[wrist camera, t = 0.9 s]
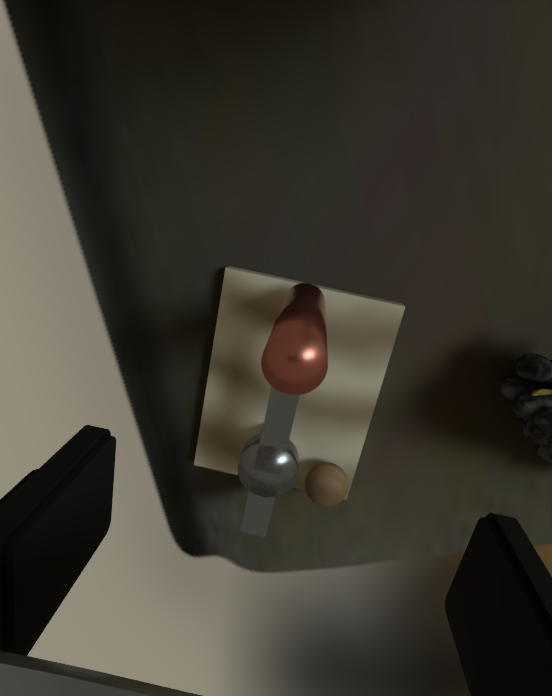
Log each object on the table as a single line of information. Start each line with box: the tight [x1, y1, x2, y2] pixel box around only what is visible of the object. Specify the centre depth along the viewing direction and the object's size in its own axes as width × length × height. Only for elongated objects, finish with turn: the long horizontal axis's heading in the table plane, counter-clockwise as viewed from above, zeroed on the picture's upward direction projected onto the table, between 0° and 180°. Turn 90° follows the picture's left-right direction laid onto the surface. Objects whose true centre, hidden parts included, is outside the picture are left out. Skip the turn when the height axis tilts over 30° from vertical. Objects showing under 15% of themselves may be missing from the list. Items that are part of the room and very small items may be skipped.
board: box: [194, 266, 405, 500], centre depth 35 cm, size 18×14×5 cm
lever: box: [238, 283, 328, 537], centre depth 28 cm, size 19×4×14 cm, turn 169°
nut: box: [305, 462, 348, 507], centre depth 36 cm, size 4×4×4 cm
